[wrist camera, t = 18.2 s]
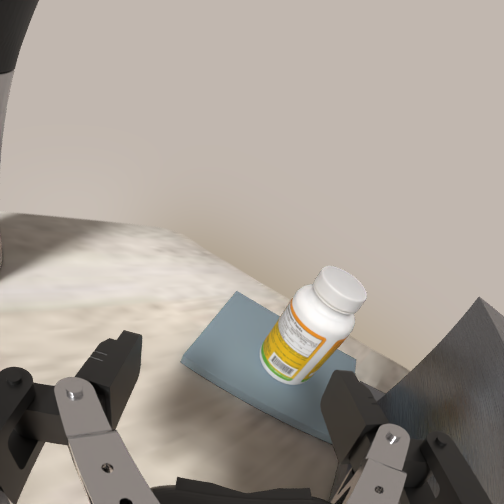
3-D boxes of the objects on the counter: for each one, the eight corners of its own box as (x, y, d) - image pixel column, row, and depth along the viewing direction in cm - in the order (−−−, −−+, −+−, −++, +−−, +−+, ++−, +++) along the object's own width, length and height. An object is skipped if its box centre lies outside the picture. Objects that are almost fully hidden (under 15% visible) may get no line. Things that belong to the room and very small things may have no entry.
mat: (180, 362, 22) (183, 355, 22) (233, 297, 32) (236, 290, 32) (337, 446, 21) (343, 441, 20) (351, 365, 30) (356, 359, 30)
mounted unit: (303, 577, 10) (537, 519, 2) (351, 389, 27) (456, 272, 20) (403, 583, 8) (585, 508, 1) (418, 420, 26) (519, 324, 18)
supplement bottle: (303, 343, 29) (358, 269, 24) (316, 388, 24) (385, 313, 20) (254, 335, 27) (305, 251, 23) (261, 383, 23) (327, 299, 18)
